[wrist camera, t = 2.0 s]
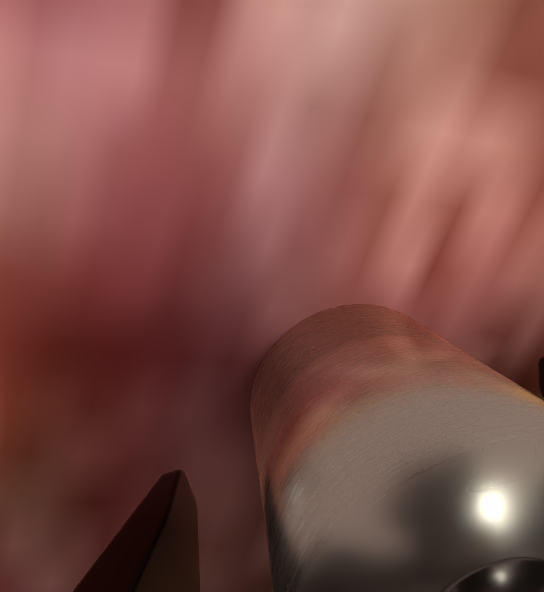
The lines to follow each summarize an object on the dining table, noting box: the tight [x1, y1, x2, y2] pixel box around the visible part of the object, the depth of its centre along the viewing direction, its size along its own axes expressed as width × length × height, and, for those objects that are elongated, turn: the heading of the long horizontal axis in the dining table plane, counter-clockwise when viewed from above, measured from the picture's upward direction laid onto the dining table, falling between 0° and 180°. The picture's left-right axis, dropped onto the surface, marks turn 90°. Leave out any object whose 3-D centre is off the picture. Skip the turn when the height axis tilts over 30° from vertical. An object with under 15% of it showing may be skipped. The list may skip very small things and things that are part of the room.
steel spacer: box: [250, 304, 544, 592], centre depth 7 cm, size 5×5×5 cm
